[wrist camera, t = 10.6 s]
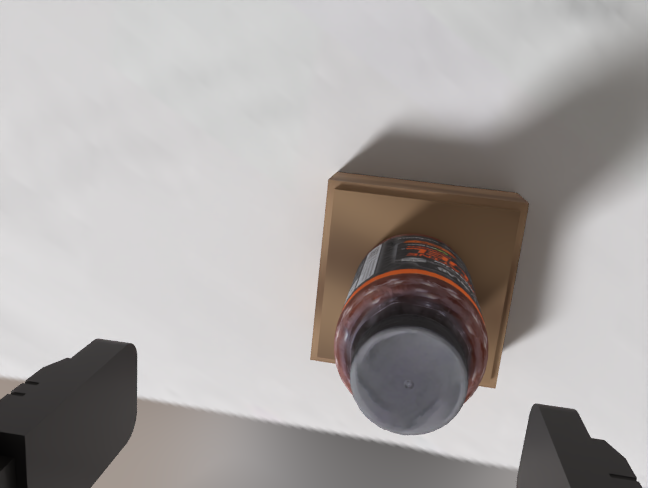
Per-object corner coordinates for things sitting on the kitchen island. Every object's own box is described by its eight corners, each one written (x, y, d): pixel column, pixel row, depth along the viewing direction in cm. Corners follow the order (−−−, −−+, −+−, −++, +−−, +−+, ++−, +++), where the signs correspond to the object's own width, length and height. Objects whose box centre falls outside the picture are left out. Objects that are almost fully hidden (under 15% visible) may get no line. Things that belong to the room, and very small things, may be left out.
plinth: (337, 171, 34) (327, 180, 30) (517, 192, 33) (530, 204, 29) (320, 335, 37) (309, 362, 33) (487, 360, 35) (496, 392, 32)
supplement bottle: (492, 260, 30) (536, 348, 19) (439, 359, 32) (452, 493, 21) (383, 210, 30) (365, 270, 19) (335, 311, 32) (294, 418, 21)
